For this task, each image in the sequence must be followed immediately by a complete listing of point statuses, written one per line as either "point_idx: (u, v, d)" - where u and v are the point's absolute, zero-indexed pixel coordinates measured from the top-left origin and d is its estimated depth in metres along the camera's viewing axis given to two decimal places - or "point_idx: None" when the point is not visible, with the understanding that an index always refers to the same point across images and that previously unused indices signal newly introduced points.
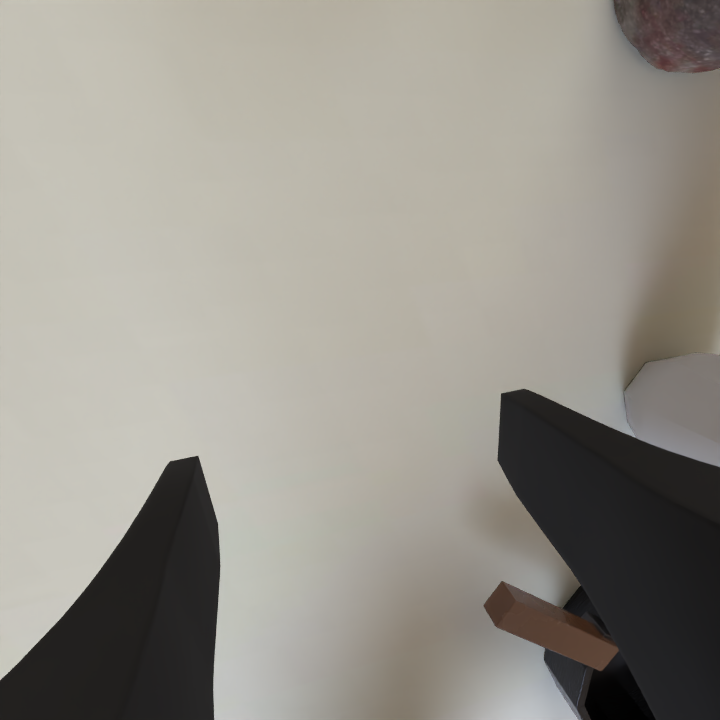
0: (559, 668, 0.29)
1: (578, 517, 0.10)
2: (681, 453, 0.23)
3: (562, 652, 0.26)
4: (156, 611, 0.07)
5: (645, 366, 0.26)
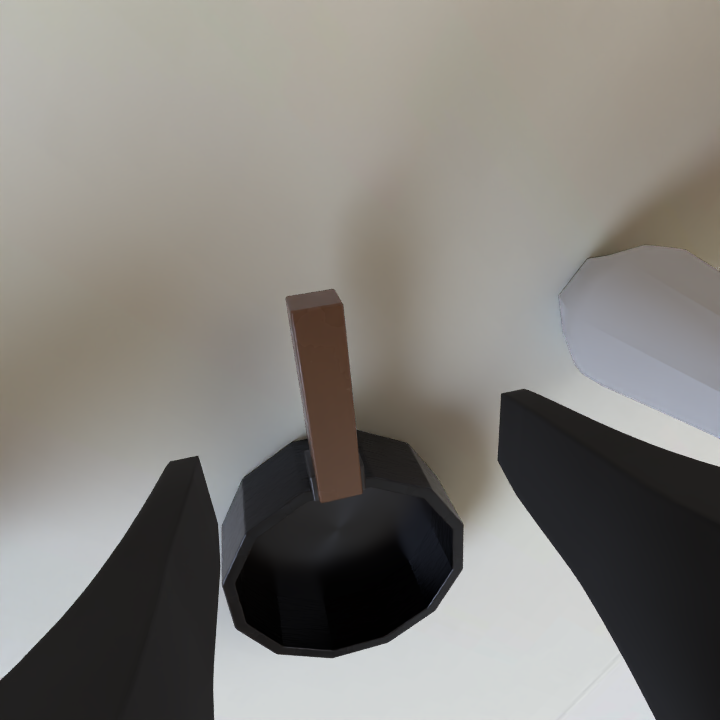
0: (259, 489, 0.21)
1: (578, 517, 0.10)
2: (632, 312, 0.17)
3: (314, 433, 0.17)
4: (156, 611, 0.07)
5: None
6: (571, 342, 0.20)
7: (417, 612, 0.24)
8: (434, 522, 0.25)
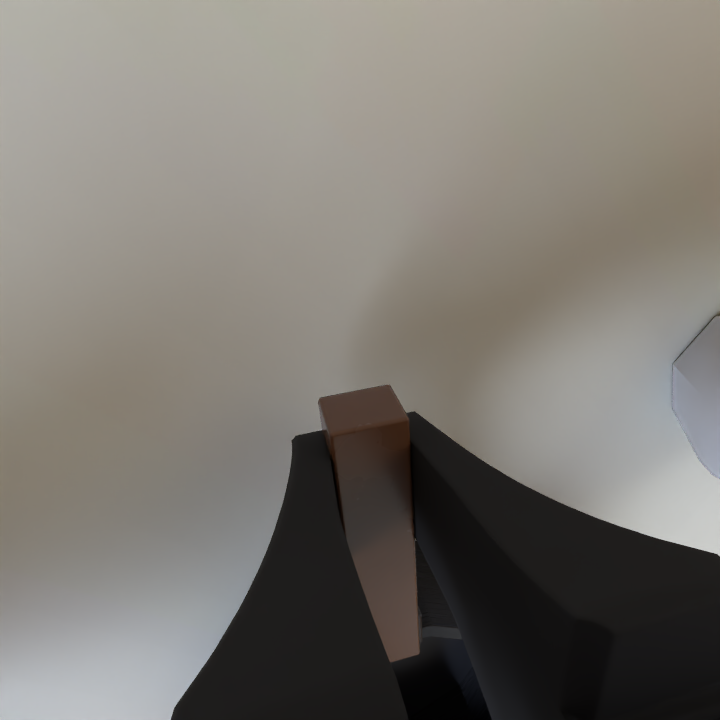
0: None
1: (446, 550, 0.10)
2: None
3: None
4: (353, 562, 0.07)
5: None
6: (702, 435, 0.15)
7: None
8: None
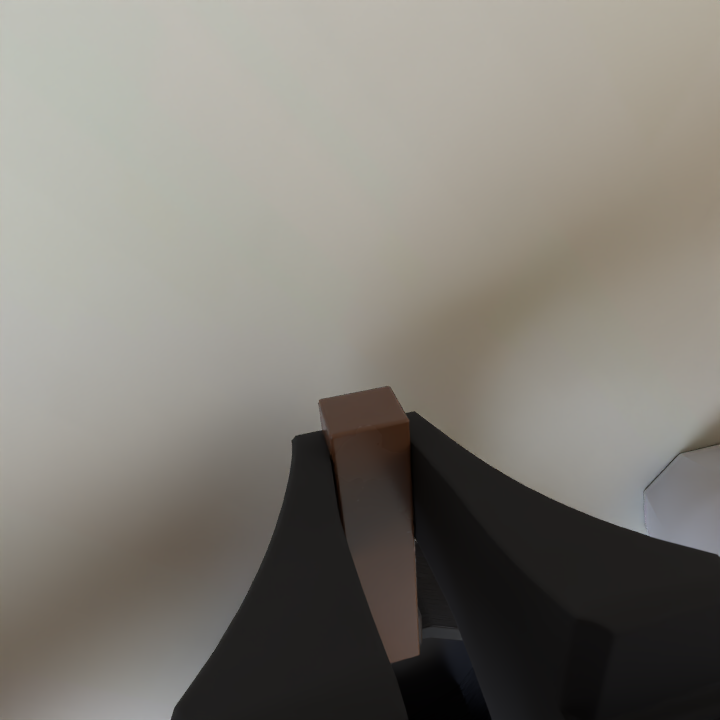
0: None
1: (446, 550, 0.10)
2: None
3: None
4: (353, 562, 0.07)
5: None
6: None
7: None
8: None
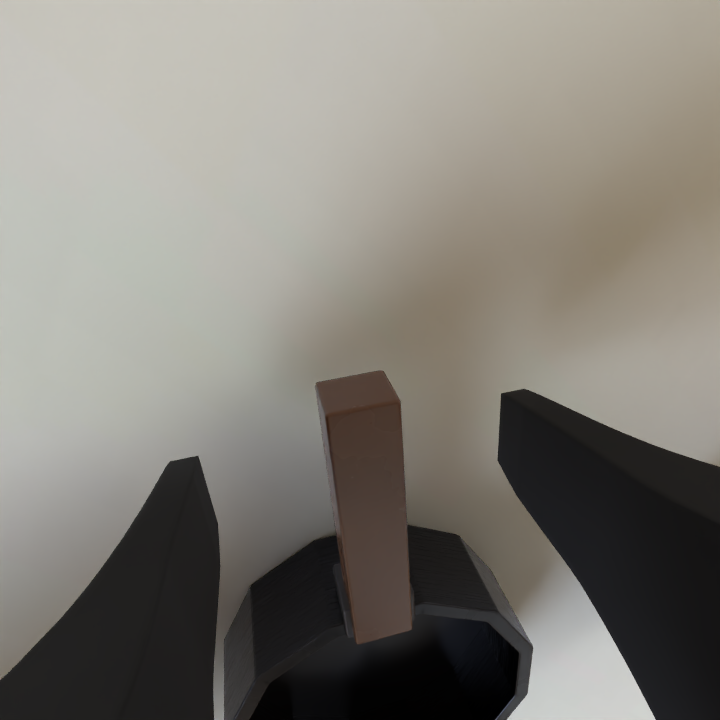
0: (272, 608, 0.16)
1: (578, 517, 0.10)
2: None
3: (352, 565, 0.13)
4: (156, 611, 0.07)
5: None
6: None
7: None
8: (487, 627, 0.20)
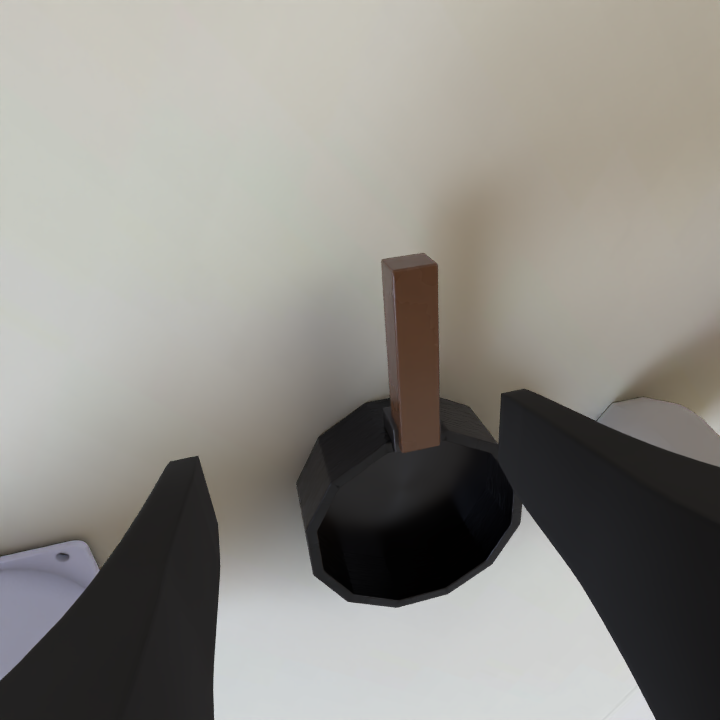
0: (337, 445, 0.23)
1: (578, 517, 0.10)
2: None
3: (402, 386, 0.19)
4: (156, 611, 0.07)
5: (641, 398, 0.27)
6: None
7: (476, 565, 0.26)
8: (490, 482, 0.26)
